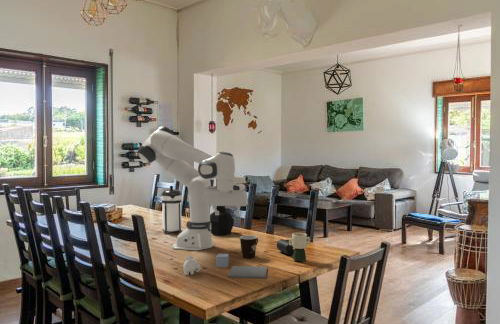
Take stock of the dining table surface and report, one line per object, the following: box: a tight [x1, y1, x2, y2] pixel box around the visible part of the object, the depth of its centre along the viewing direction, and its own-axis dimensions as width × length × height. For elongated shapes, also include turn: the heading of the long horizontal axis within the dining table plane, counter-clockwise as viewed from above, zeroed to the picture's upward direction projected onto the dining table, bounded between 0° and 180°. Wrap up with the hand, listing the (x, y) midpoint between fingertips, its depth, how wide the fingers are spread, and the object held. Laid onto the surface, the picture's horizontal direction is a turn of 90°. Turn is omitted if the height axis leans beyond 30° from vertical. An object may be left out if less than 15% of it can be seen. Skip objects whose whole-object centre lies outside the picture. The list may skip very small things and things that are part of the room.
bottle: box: [210, 206, 235, 236], centre depth 264 cm, size 16×16×30 cm
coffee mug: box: [239, 234, 259, 260], centre depth 211 cm, size 12×9×10 cm
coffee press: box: [161, 185, 183, 235], centre depth 271 cm, size 17×16×30 cm
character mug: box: [288, 232, 311, 262], centre depth 202 cm, size 11×7×13 cm, turn 107°
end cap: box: [276, 238, 295, 257], centre depth 216 cm, size 10×7×7 cm
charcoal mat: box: [227, 265, 268, 279], centre depth 185 cm, size 16×14×1 cm
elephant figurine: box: [180, 254, 203, 276], centre depth 185 cm, size 8×10×7 cm
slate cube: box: [215, 253, 230, 268], centre depth 196 cm, size 5×5×5 cm
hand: (226, 215), depth 199 cm, fingers open, 8 cm apart
